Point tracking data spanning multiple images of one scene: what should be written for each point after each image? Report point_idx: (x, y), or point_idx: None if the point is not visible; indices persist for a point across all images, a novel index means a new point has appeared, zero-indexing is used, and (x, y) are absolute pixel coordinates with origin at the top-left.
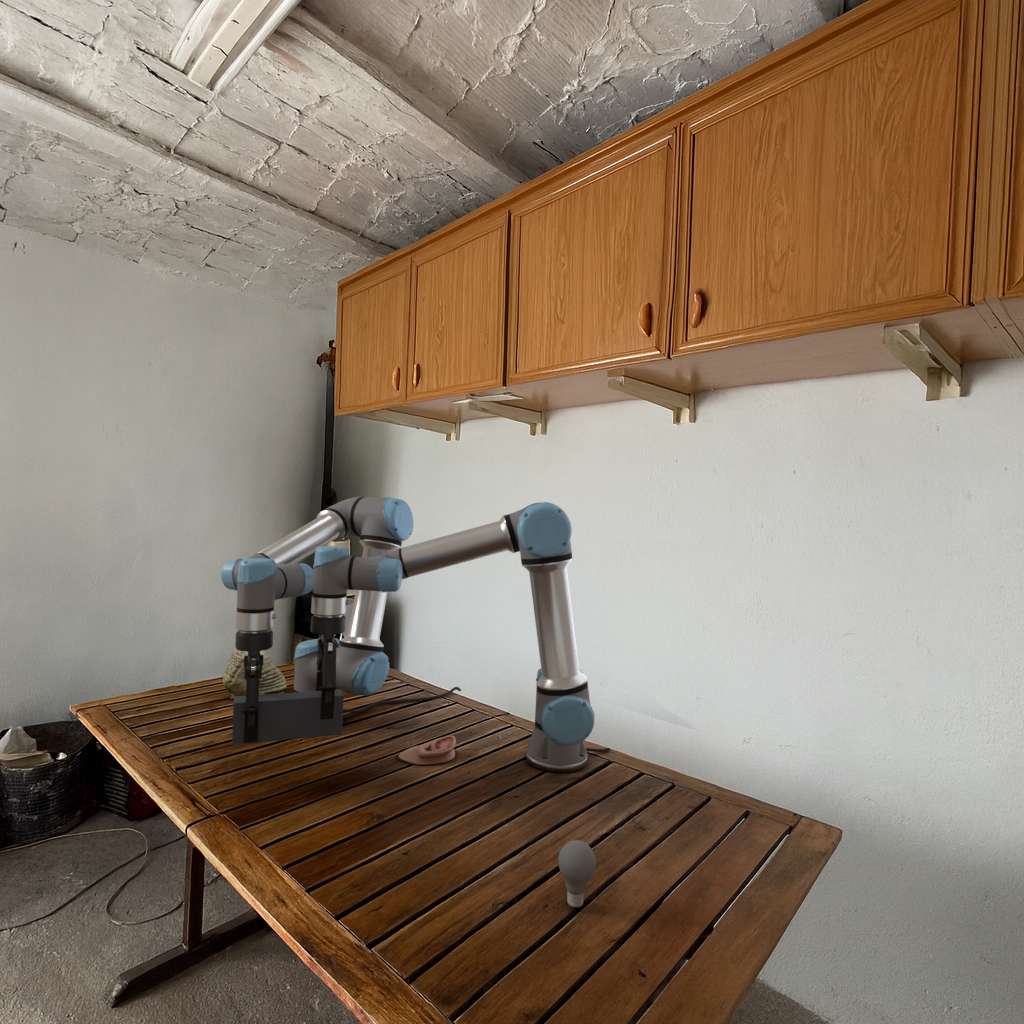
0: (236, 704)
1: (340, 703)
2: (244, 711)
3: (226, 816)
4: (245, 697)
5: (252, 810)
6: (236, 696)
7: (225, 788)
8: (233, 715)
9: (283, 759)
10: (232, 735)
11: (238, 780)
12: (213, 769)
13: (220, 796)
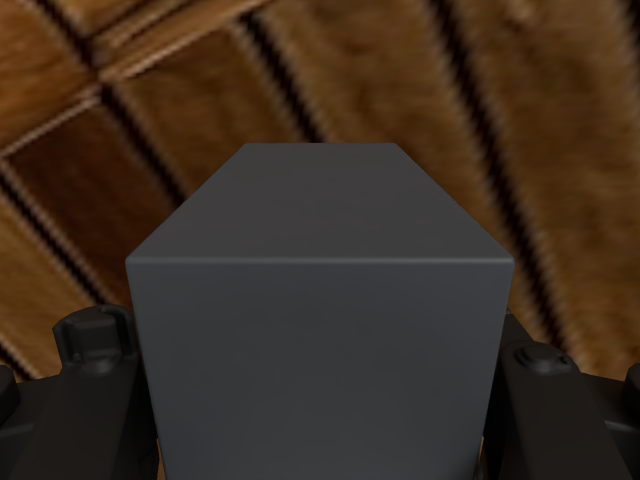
0: (135, 290)
1: None
2: (66, 347)
3: (76, 109)
4: (390, 405)
5: (113, 194)
6: (492, 288)
7: (313, 92)
8: (185, 202)
9: (509, 292)
10: (233, 155)
11: (373, 139)
12: (526, 27)
13: (244, 76)
